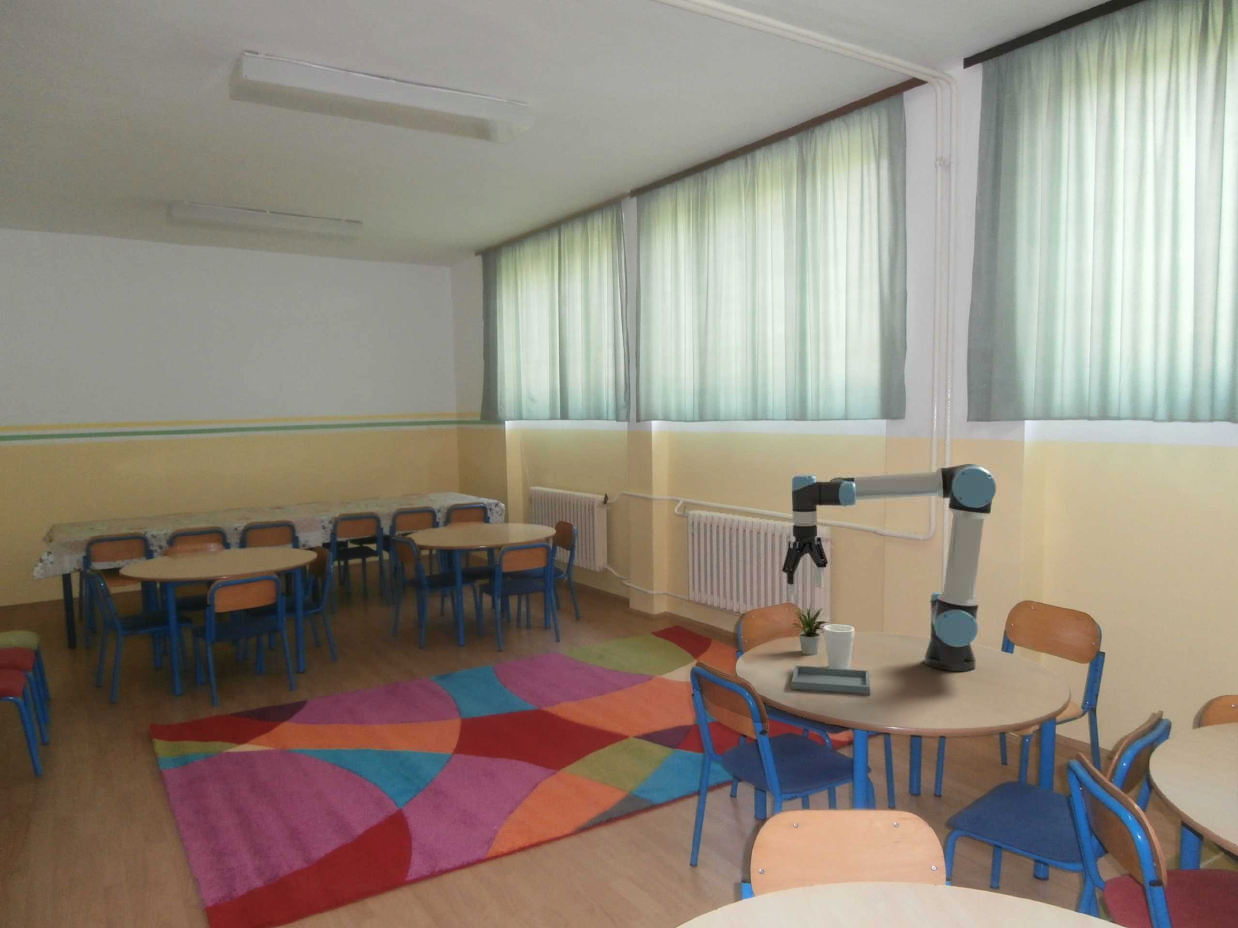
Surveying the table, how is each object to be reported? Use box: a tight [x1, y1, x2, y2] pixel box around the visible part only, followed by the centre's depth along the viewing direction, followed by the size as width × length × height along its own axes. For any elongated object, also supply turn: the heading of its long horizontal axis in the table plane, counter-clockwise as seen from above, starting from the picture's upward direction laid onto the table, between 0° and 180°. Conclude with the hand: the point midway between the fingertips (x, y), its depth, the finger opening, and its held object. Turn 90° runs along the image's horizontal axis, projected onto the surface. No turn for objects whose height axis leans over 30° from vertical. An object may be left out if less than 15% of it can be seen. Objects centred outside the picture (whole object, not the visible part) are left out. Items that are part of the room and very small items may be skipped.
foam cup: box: [823, 623, 855, 669], centre depth 264 cm, size 10×9×13 cm
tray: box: [791, 665, 871, 696], centre depth 249 cm, size 22×16×2 cm
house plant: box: [789, 604, 829, 656], centre depth 281 cm, size 14×14×16 cm
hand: (805, 590), depth 265 cm, fingers open, 13 cm apart
